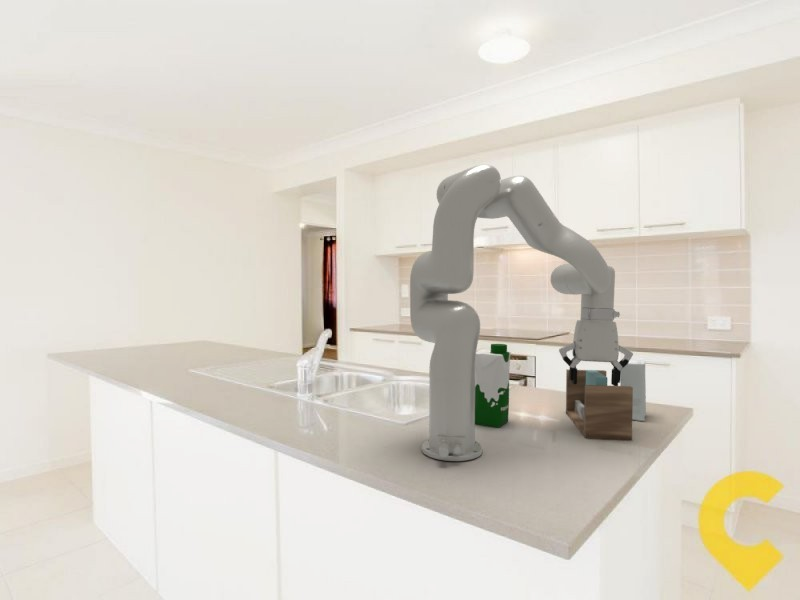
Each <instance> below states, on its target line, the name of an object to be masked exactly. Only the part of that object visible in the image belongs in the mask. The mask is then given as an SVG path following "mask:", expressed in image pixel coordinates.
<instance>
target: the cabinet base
mask: <svg viewBox="0 0 800 600" xmlns="http://www.w3.org/2000/svg"><path fill="white" fill-rule="evenodd" d="M569 370H570V369H566V374H565V375H566V376H565V377H566V378H565V380H566V382H565V384H566V385H565V414H566V415H567V417H568V418H569V417H570V418H569V419H570V420H571V422H572V421H573V424H574V425H575V427H576V426H577V427H576V428H577V430H578V431H579V430H580V431H579V432H580V433H581V434H582V436H583V437H584V438H585V439H587V438H588V439H589V440H609V441H610V440H613V441H614V440H615V441H631V440H632V441H633V420H632V408H633V387H631V386H621V385H618V386H614V385H607V386H605V385H586V370H587V369H577V384H573V383H572V382H571V380H569ZM596 370H597V371H598V372H600V373H601V374H603V375H604V376H606V377H607V370H605V369H603V370H600V369H596ZM588 439H587V440H588Z"/></svg>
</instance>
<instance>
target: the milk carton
mask: <svg viewBox="0 0 800 600" xmlns="http://www.w3.org/2000/svg"><path fill="white" fill-rule="evenodd" d="M511 353H512V352H511V351H508V345H507V344H504V343H491V344H490V350H489V349H481V350H480V349H479V350H476V360H475V425H480V426H486V427H487V426H488V427H490V428H491V427H493V428H498V429H499V428H501V427H502V426H503V425H505V424H506V423H507V422H508V421H509V411H510V410H509V409H510V363H511Z"/></svg>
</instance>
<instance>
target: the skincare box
mask: <svg viewBox="0 0 800 600" xmlns="http://www.w3.org/2000/svg"><path fill="white" fill-rule="evenodd" d="M619 384H620V386H631V387H633V408H632V421H637V422H645V421H646V418H645V417H646V416H647V415H646V414H647V406H646V404H647V399H646V398H647V397H646V396H647V395H646V391H647V389H646V385H647V384H646V360H634V359H633V360H632V359H630V360H629V363H628V364H627V365H626V366H625V367H624V368H623V369H622V370H621V373H620V383H619Z"/></svg>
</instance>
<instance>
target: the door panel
mask: <svg viewBox="0 0 800 600" xmlns="http://www.w3.org/2000/svg"><path fill="white" fill-rule="evenodd" d="M585 370H586V385H605V386H608V376H607V375H606V376H604V375H603V374H601V373H600V372H598V371H597V370H598V369H595V370H594V369H585Z"/></svg>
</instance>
